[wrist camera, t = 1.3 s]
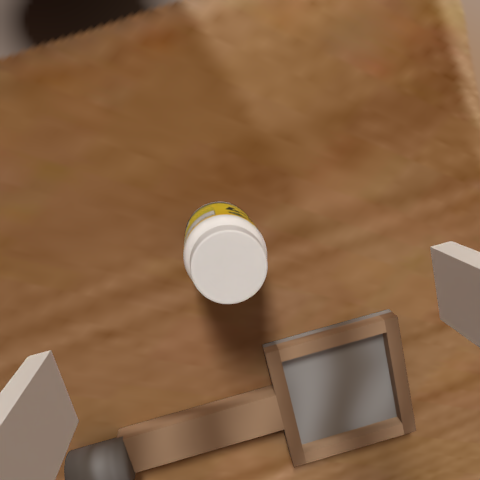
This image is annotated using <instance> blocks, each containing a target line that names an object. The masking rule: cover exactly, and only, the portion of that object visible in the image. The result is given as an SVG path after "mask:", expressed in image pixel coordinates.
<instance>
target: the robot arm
mask: <svg viewBox="0 0 480 480" xmlns="http://www.w3.org/2000/svg"><path fill="white" fill-rule="evenodd" d="M430 249H431V256H432V263H433V270H434V278H435V285H436V292H437V299H438V306H439V314H440V319H441V320H442V321H443V322H445V323H446V324H448V325H449V326H450V327H452V328H453V329H455V330H456V331H457V332H459V333H460V334H462V335H463V336H464V337H466V338H467V339H469V340H470V341H471V342H473V343H474V344H475V345H477V346H478V347H480V252H478V251H475V250H473V249H470V248H468V247H465V246H463V245H460V244H457V243H455V242H452V241H450V242H446V243H443V244H439V245H435V246H432V247H430ZM78 422H79V420H78V418H77V415H76V413H75V410H74V407H73V405H72V402H71V400H70V397H69V395H68V392H67V390H66V387H65V385H64V382H63V379H62V377H61V374H60V372H59V369H58V367H57V364H56V362H55V359H54V356H53V354H52V351H51V350H50V351H46V352H43V353H39V354H35V355H32V356H28V357H27V358H26V360H25V361H24V362H23V364H22V365H21V366H20V368H19V369H18V370H17V371H16V373H15V374H14V375H13V377H12V378H11V379H10V381H9V382H8V383H7V385H6V386H5V387H4V389H3V390H2V391H1V393H0V480H55V479H56V476H57V474H58V471H59V469H60V466H61V464H62V461H63V459H64V456H65V454H66V451H67V449H68V446H69V444H70V441H71V439H72V436H73V434H74V432H75V429H76V427H77V424H78Z"/></svg>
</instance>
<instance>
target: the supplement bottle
mask: <svg viewBox="0 0 480 480" xmlns="http://www.w3.org/2000/svg"><path fill="white" fill-rule="evenodd" d="M183 258H184V264H185V268H186V271H187V273H188V275H189V277H190V278H191V279H192V281H193V283H194V285H195V286H196V288H197V289H198V291H199V292H200V293H201V294H202V295H203V296H205V297H206V298H208V299H209V300H211V301H214V302H216V303H221V304H236V303H240V302H243V301H245V300H247V299H249V298H250V297H252V296H253V295H254V294H255V293H256V292H257V291H258V290H259V289H260V288H261V286H262V285H263V283H264V281H265V278H266V275H267V269H268V264H267V249H266V244H265V241H264V239H263V236H262V235H261V233H260V232H259V230H258V229H257V228H256V226H255V225H254V224H253V222H252V221H251V220H250V219H249V217H248V216H247V215H246V214H245V213H244V212H243V211H242V210H241V209H240V208H238V207H237V206H235V205H233V204H230V203H226V202H213V203H209V204H206V205H204V206H202V207H200V208H199V209H198V210H196V211H195V212H194V213H193V215H192V216H191V217H190V219H189V221H188V223H187V226H186V230H185V239H184V251H183Z"/></svg>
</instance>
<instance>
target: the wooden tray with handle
mask: <svg viewBox="0 0 480 480" xmlns="http://www.w3.org/2000/svg"><path fill="white" fill-rule="evenodd" d="M262 346H263V350H264V354H265V358H266V362H267V366H268V370H269V374H270V378H271V382H272V385H270V386H267V387H263V388H260V389H256V390H253V391H249V392H246V393H242V394H239V395H235V396H232V397H228V398H225V399H221V400H218V401H214V402H211V403H207V404H204V405H200V406H197V407H193V408H190V409H186V410H183V411H179V412H176V413H172V414H169V415H165V416H162V417H158V418H155V419H151V420H148V421H144V422H141V423H137V424H134V425H130V426H127V427H123V428H120V429H119V431H118V435H117V437H116V438H113V439H109V440H106V441H102V442H99V443H95V444H92V445H88V446H85V447H81V448H78V449H74V450H71V451H69V453H68V454H67V457H66V460H65V469H64V473H65V480H134V479H135V473H137V472H140V471H144V470H147V469H150V468H154V467H157V466H161V465H164V464H168V463H171V462H174V461H178V460H181V459H185V458H188V457H192V456H195V455H198V454H202V453H205V452H209V451H212V450H216V449H219V448H222V447H226V446H229V445H233V444H236V443H240V442H243V441H246V440H250V439H253V438H257V437H260V436H264V435H267V434H270V433H274V432H277V431H281V430H284V433H285V437H286V441H287V445H288V448H289V452H290V456H291V459H292V462H293V465H294V467H296V466H300V465H303V464H307V463H310V462H313V461H317V460H320V459H323V458H327V457H330V456H334V455H337V454H340V453H344V452H347V451H350V450H354V449H357V448H360V447H364V446H367V445H371V444H374V443H377V442H381V441H384V440H387V439H391V438H394V437H397V436H401V435H404V434H408V433H411V432H414V431H416V426H415V420H414V414H413V408H412V402H411V396H410V390H409V384H408V378H407V372H406V365H405V359H404V353H403V347H402V341H401V335H400V329H399V323H398V317H397V316H396V315H395V314H394V313H393V312H392V311H390V310H389V309H388V310H384V311H381V312H377V313H374V314H370V315H366V316H363V317H359V318H356V319H352V320H349V321H345V322H341V323H338V324H334V325H331V326H327V327H324V328H320V329H316V330H313V331H309V332H306V333H302V334H299V335H295V336H291V337H288V338H284V339H281V340H277V341H274V342H270V343H266V344H263V345H262Z"/></svg>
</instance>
